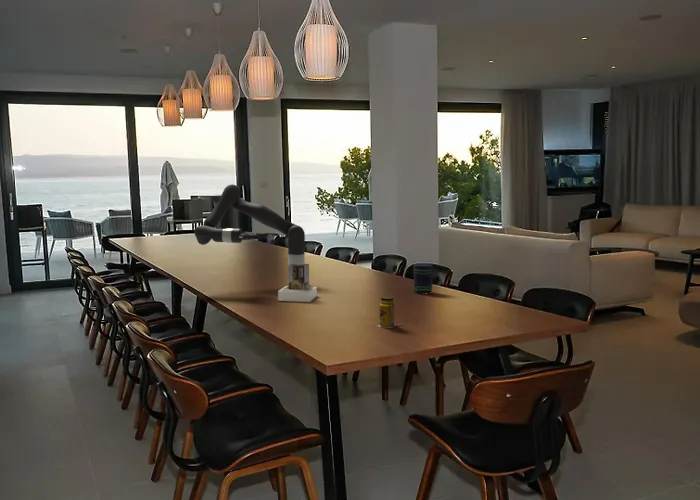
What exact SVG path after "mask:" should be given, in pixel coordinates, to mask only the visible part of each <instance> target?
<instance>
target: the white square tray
mask: <svg viewBox="0 0 700 500" xmlns="http://www.w3.org/2000/svg"><path fill="white" fill-rule="evenodd" d="M317 290H318V288H317V286H309V290H293V289H289V285H286V286H284V287H282V288H281V289H279V290H277V301H278V302H279V301H280V302H299V303H300V302H302V303H305V302H306V303H311V302H312V301H313V300H315V298H317V295H318V293H317V292H318V291H317Z"/></svg>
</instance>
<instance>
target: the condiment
mask: <svg viewBox="0 0 700 500" xmlns="http://www.w3.org/2000/svg"><path fill="white" fill-rule="evenodd" d="M394 302H395V301H394V297H393V296H382V297H380V304H379V324H378V325H376V327H378V328H384V329H393V328H396V327H399V326H400V324H398V323H397V324H398V325H396V326H394V324H395V303H394Z"/></svg>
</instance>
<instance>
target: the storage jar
mask: <svg viewBox="0 0 700 500" xmlns="http://www.w3.org/2000/svg"><path fill="white" fill-rule="evenodd" d="M432 276H433V264H431V263H414V264H413V286H412V287H413V291H414V292H415V293H430V292H432V289H433V283H432V279H433V277H432ZM415 293H414V294H415Z"/></svg>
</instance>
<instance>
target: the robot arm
mask: <svg viewBox="0 0 700 500" xmlns="http://www.w3.org/2000/svg"><path fill="white" fill-rule="evenodd" d="M240 196H241V189H240V187H239V186H238V185H236V184H233V183H231V184H228V185H226V187H225V188H224V189H223V191H222V193H221V196H220V199H219V200H218V202H217V204H216V205H215V206H214V207H213V209H211V211H210V213H209V214H208V215H207V217H206V218H205V220H203V225H198V226H196V227H195V228H194V230H193V232H194V236H195V238H196V240H197V243H198V244H199V245H202V246H205V245H207V244H209V243H210V242H211V240H213V242H215V243H225V244H227V243H228V244H242V242H243V241H251V240H260V239H264V238H266V234H265V233H263V232H262V233H261V232H253V231H250V232H249V231H243V229H242V228H217V227H218V225H219V224H220V223H221V221H222V220H223V218H224V216H225V214H226V212H227V211H228V210H229V208H230V207H231V208H233V209H234V210H235V209H236V210H237V211H238V212H241V213H243V214H244V215H246V216H249V217H251V219H253V220H255V221H257V222H259V223H260V224H261V225H264V226H266V227H269V228H271V229H274V230H277V231H278V232H280V233H281V234H283V235H284V236H286V237H287V239H288V240H287V245H288V246H287V249H288V250H287V259H288V260H287V262H288V263H287V265H290V264H306V263H305V260H306V259H305V258H306V257H305V254H306V253H305V252H306V251H305V250H306V249H305V248H306V247H305V246H306V238H305V237H306V236H305V235H306V232H305V230H304V229H303V227H301V226H300V225H297V224H295V223H292V222H290V221H289V220H286V219H285V218H284V217H282V216H281V215H280V214H278V213H276V211H273V209H271V208H269V207H267V206H265V205H263V204H261V203H255V202H250V201H246V200H245V199H243V198H241V197H240ZM287 284H288V285H289V282H287Z"/></svg>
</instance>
